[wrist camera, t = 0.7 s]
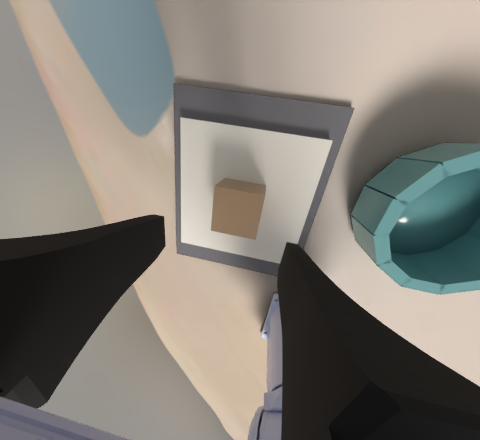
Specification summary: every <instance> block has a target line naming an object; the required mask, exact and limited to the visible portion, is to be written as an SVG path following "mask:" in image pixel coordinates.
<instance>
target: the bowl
mask: <svg viewBox="0 0 480 440" xmlns="http://www.w3.org/2000/svg"><path fill="white" fill-rule="evenodd" d="M366 185H367V186H364V187H363V189H362V192H361V194H360V196H359V198H358V200H357V202H356V205H355V207H354V209H353V211H352V213H351V219H352V225H353V231H354V237H355V240H356V242H357V243H358V244H359V245H360V246H361V248H362V249H363V250H364V251H365V252H366V253H367V255H368V256H369V257H370V258H371V259H372V260H373V261H374V263H375V264H376V265H377V266H378V267H379V268H380V269H381V270H383V271H384V272H385V273H386V274H387V275H388V276H389V277H391V278H392V279H393V280H394V281H395V282H396V283H397V284H399V285H400V286H402V287H406V288H410V289H415V290H419V291H424V292H429V293H433V294H440V295H441V294H449V293H457V292H466V291H474V290H480V143H441V144H438V145H434V146H431V147H428V148H425V149H422V150H419V151H416V152H413V153H410V154H407V155H404V156H400V157H399V158H396V159H395V160H394V161H393V162H391V163H390V164H389V165H388V166H387V167H385V168H384V169H383V170H382V171H381V172H379V173H378V174H377V175H376V176H375V177H373V178H372V179H371V180H370V181H369V182H367V183H366Z"/></svg>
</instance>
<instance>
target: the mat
mask: <svg viewBox="0 0 480 440" xmlns="http://www.w3.org/2000/svg"><path fill="white" fill-rule="evenodd" d="M353 111H354V108H352V107H345V106H337V105H330V104H322V103H315V102H308V101H300V100H293V99H286V98H278V97H271V96H263V95H256V94H249V93H241V92H234V91H227V90H219V89H212V88H204V87H197V86H190V85H182V84H175V83H174V132H175V185H176V237H177V254H181V255H186V256H190V257H195V258H199V259H204V260H208V261H213V262H217V263H222V264H226V265H230V266H235V267H239V268H244V269H248V270H253V271H257V272H262V273H266V274H271V275H275V276H278V269H279V265H280V264H279V263H274V262H270V261H265V260H261V259H256V258H251V257H247V256H242V255H238V254H233V253H228V252H224V251H219V250H215V249H210V248H206V247H201V246H196V245H192V244H187V243H183V242H181V134H180V117H182V118H188V119H195V120H201V121H208V122H215V123H221V124H228V125H234V126H241V127H247V128H254V129H260V130H267V131H273V132H280V133H287V134H293V135H300V136H306V137H313V138H319V139H326V140H332V141H333V142H332V145H331V148H330V151H329V153H328V156H327V159H326V162H325V165H324V168H323V171H322V174H321V177H320V180H319V183H318V186H317V189H316V191H315V194H314V197H313V200H312V203H311V206H310V209H309V212H308V215H307V218H306V221H305V224H304V227H303V229H302V232H301V235H300V238H299V241H298V245H299V246H300V247H301V248H302V249H303V248H304V245H305V242H306V240H307V237H308V234H309V232H310V229H311V226H312V223H313V221H314V218H315V215H316V212H317V210H318V207H319V204H320V201H321V199H322V196H323V193H324V190H325V188H326V185H327V182H328V179H329V177H330V174H331V171H332V168H333V166H334V163H335V160H336V157H337V155H338V152H339V149H340V146H341V144H342V141H343V138H344V135H345V133H346V130H347V127H348V124H349V122H350V119H351V116H352V113H353Z"/></svg>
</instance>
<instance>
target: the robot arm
mask: <svg viewBox="0 0 480 440" xmlns="http://www.w3.org/2000/svg"><path fill="white" fill-rule="evenodd" d="M164 247H165V228H164V216H159V215H147V216H142V217H138V218H133V219H129V220H125V221H121V222H117V223H112V224H108V225H103V226H99V227H94V228H89V229H84V230H78V231H72V232H65V233H59V234H52V235H42V236H32V237H23V238H13V239H0V440H130V439H127V438H124V437H121V436H118V435H115V434H112V433H109V432H106V431H103V430H100V429H97V428H94V427H91V426H88V425H84V424H82V423H78V422H76V421H73V420H70V419H67V418H63V417H60V416H57V415H54V414H51V413H48V412H45V411H42V410H39V409H37V408H39V407H41V406H42V405H44V404H45V403H47V401H48V400H49V399H50V397H51V395H52V394H53V392H54V391H55V389H56V387H57V386H58V384H59V383H60V381H61V380H62V378H63V376H64V375H65V374H66V372H67V370H68V369H69V367H70V366H71V364H72V363H73V361H74V359H75V358H76V357H77V355H78V354H79V352H80V351H81V350H82V348H83V347H84V345H85V344H86V342H87V341H88V339H89V338H90V336H91V335H92V334H93V332H94V331H95V330H96V328H97V327H98V326H99V324H100V323H101V322H102V320H103V319H104V318H105V316H106V315H107V314H108V312H109V311H110V310H111V308H112V307H113V306H114V305H115V303H116V302H117V301H118V300H119V298H120V297H121V296H122V295H123V294H124V293H125V291H126V290H127V289H128V288H129V287H130V286H131V285H132V284H133V283H134V282H135V281H136V280H137V279H138V278H139V277H140V276H141V275H142V273H143V272H144V271H145V270H146V269H147V268H148V267H149V266H150V265H151V264H152V263H153V262H154V261H155V260H156V258H157V257H158V256H159V254H160V253H161V251H162V250H163V249H164ZM277 288H278V293H275V294H274V295H273V298H272V301H271V304H270V308H269V311H268V314H267V317H266V320H265V323H264V326H263V330H262V333H261V337H262V338H263V339H267V390H268V392H267V393H264V406H261V407H259V408H258V409H257V411H256V413H255V415H254V417H253V419H252V422H251V425H250V429H249V434H248V440H480V387H479V386H478V385H476V384H474V383H473V382H471V381H470V380H468V379H466V378H465V377H463V376H461V375H460V374H458V373H457V372H455V371H453V370H452V369H450V368H449V367H447V366H445V365H444V364H442V363H440V362H439V361H437V360H436V359H434V358H432V357H431V356H429V355H428V354H426V353H425V352H423V351H422V350H420V349H419V348H417V347H416V346H414V345H413V344H411V343H410V342H408V341H407V340H405V339H404V338H402V337H401V336H399V335H398V334H397V333H395V332H394V331H392V330H391V329H390V328H388V327H387V326H385V325H384V324H383V323H381V322H380V321H379V320H377V319H376V318H375V317H374V316H372V315H371V314H370V313H368V312H367V311H366V310H364V309H363V308H362V307H361V306H359V305H358V304H357V303H356V302H355V301H353V300H352V299H351V298H350V297H349V296H348V295H346V294H345V293H344V292H343V291H342V290H341V289H340V288H339V287H337V286H336V285H335V284H334V283H333V282H332V281H331V280H330V279H329V278H328V277H327V276H326V275H325V274H324V273H323V272H322V271H321V269H320V268H319V267H318V266H317V265H316V264H315V263H314V262H313V261H312V259H311V258H310V257H309V256H308V255H307V254H306V253H305V251H304V250H303V249H302V248H301V247H300V246H299V245H298V244H294V243H290V242H287V243H286V246H285V249H284V252H283V256H282V259H281V262H280V265H279V269H278V283H277ZM276 299H277V300H276Z"/></svg>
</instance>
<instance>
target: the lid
mask: <svg viewBox="0 0 480 440" xmlns="http://www.w3.org/2000/svg"><path fill="white" fill-rule="evenodd" d="M180 134H181V242H183V243H187V244H192V245H196V246H201V247H206V248H210V249H215V250H219V251H224V252H228V253H233V254H238V255H242V256H247V257H251V258H256V259H261V260H265V261H270V262H274V263H279V264H280V262H281V259H282V256H283V252H284V249H285V246H286V243H287V242H290V243H294V244H298V241H299V238H300V235H301V232H302V229H303V227H304V224H305V221H306V218H307V215H308V212H309V209H310V206H311V203H312V200H313V197H314V194H315V191H316V189H317V186H318V183H319V180H320V177H321V174H322V171H323V168H324V165H325V162H326V159H327V156H328V153H329V151H330V148H331V145H332V142H333V141H332V140H326V139H319V138H313V137H306V136H300V135H293V134H287V133H280V132H273V131H267V130H260V129H254V128H247V127H241V126H234V125H228V124H221V123H215V122H208V121H201V120H195V119H188V118H182V117H180Z"/></svg>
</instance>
